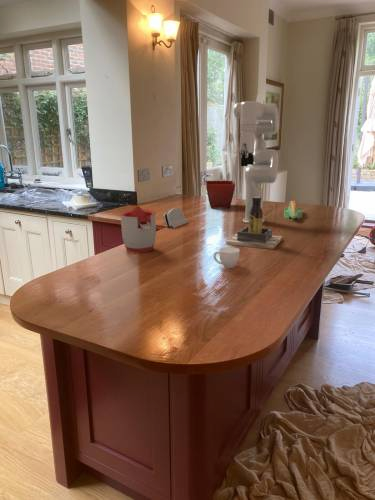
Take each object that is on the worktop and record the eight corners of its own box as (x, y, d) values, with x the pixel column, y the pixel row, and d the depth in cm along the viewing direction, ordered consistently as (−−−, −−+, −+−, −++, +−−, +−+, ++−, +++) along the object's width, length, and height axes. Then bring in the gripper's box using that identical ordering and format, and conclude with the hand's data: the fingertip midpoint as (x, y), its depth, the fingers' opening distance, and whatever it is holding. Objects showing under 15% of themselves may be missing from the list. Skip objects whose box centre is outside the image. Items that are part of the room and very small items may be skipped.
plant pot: (234, 209, 271) (235, 183, 266) (206, 209, 271) (206, 184, 266) (232, 204, 289) (232, 180, 284) (205, 204, 289) (205, 180, 284)
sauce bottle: (246, 236, 195) (248, 195, 189) (259, 236, 195) (261, 195, 189) (250, 240, 188) (251, 198, 183) (263, 240, 189) (264, 197, 183)
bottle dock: (238, 235, 204) (238, 224, 203) (282, 239, 195) (282, 228, 193) (226, 244, 189) (226, 232, 187) (273, 249, 179) (273, 237, 178)
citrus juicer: (130, 257, 170) (127, 211, 165) (117, 247, 185) (114, 204, 179) (164, 252, 177) (162, 207, 171) (149, 243, 192) (147, 201, 186)
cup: (239, 269, 154) (239, 253, 152) (213, 269, 155) (213, 252, 153) (239, 263, 161) (239, 247, 159) (214, 262, 162) (214, 246, 160)
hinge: (173, 228, 221) (167, 210, 220) (166, 230, 224) (160, 212, 222) (188, 222, 235) (183, 205, 234) (181, 223, 237) (176, 207, 236)
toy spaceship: (303, 223, 228) (304, 210, 226) (284, 222, 231) (284, 209, 228) (300, 212, 258) (301, 200, 256) (283, 211, 260) (284, 200, 258)
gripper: (246, 128, 202) (245, 163, 207) (234, 129, 187) (234, 166, 192) (260, 128, 199) (259, 164, 204) (250, 128, 184) (249, 167, 189)
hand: (247, 165), depth 198 cm, fingers open, 9 cm apart
